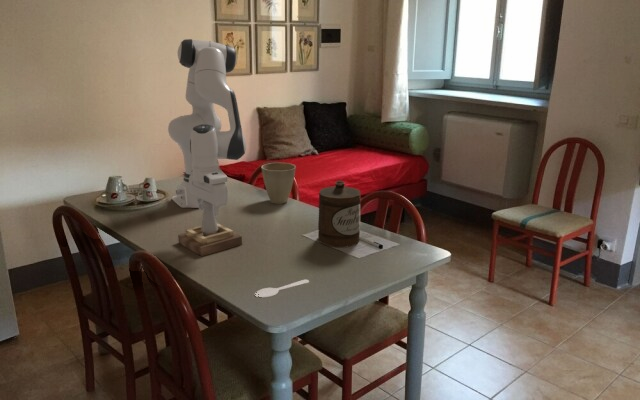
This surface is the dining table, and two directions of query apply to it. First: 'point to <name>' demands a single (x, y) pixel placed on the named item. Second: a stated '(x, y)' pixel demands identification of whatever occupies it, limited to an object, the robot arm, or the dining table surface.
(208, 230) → the salt shaker
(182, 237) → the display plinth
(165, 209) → the dining table surface
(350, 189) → the wooden container
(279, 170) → the plant pot
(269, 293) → the spoon
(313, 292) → the dining table surface
